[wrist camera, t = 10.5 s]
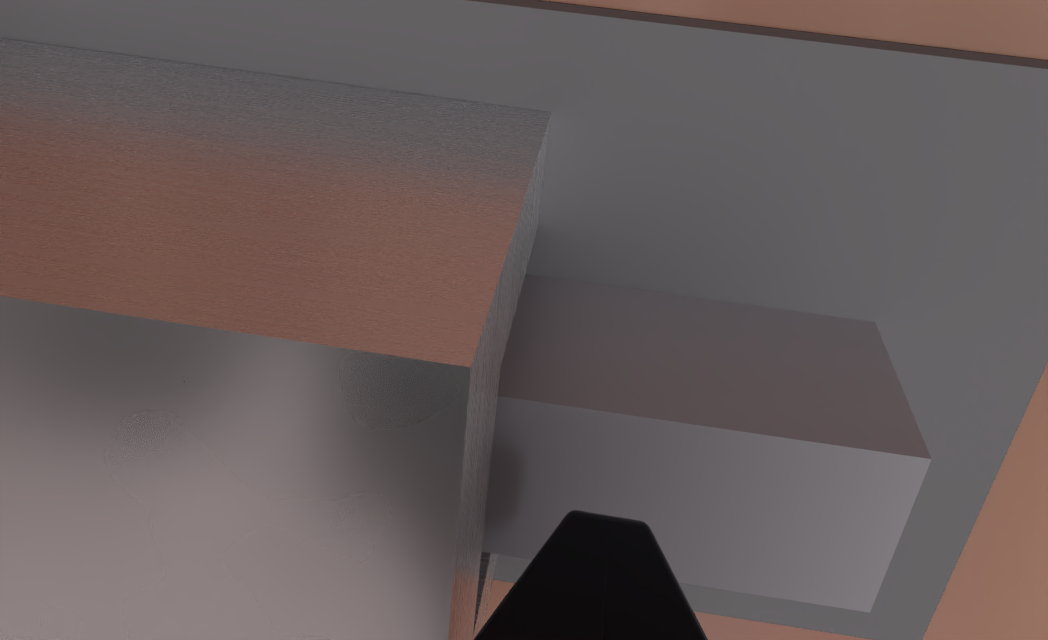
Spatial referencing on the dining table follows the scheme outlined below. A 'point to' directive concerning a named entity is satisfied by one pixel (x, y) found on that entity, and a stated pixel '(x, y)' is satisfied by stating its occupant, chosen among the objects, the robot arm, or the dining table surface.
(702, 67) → the hitch plate
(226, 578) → the lock block
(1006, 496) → the dining table surface
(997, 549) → the dining table surface
